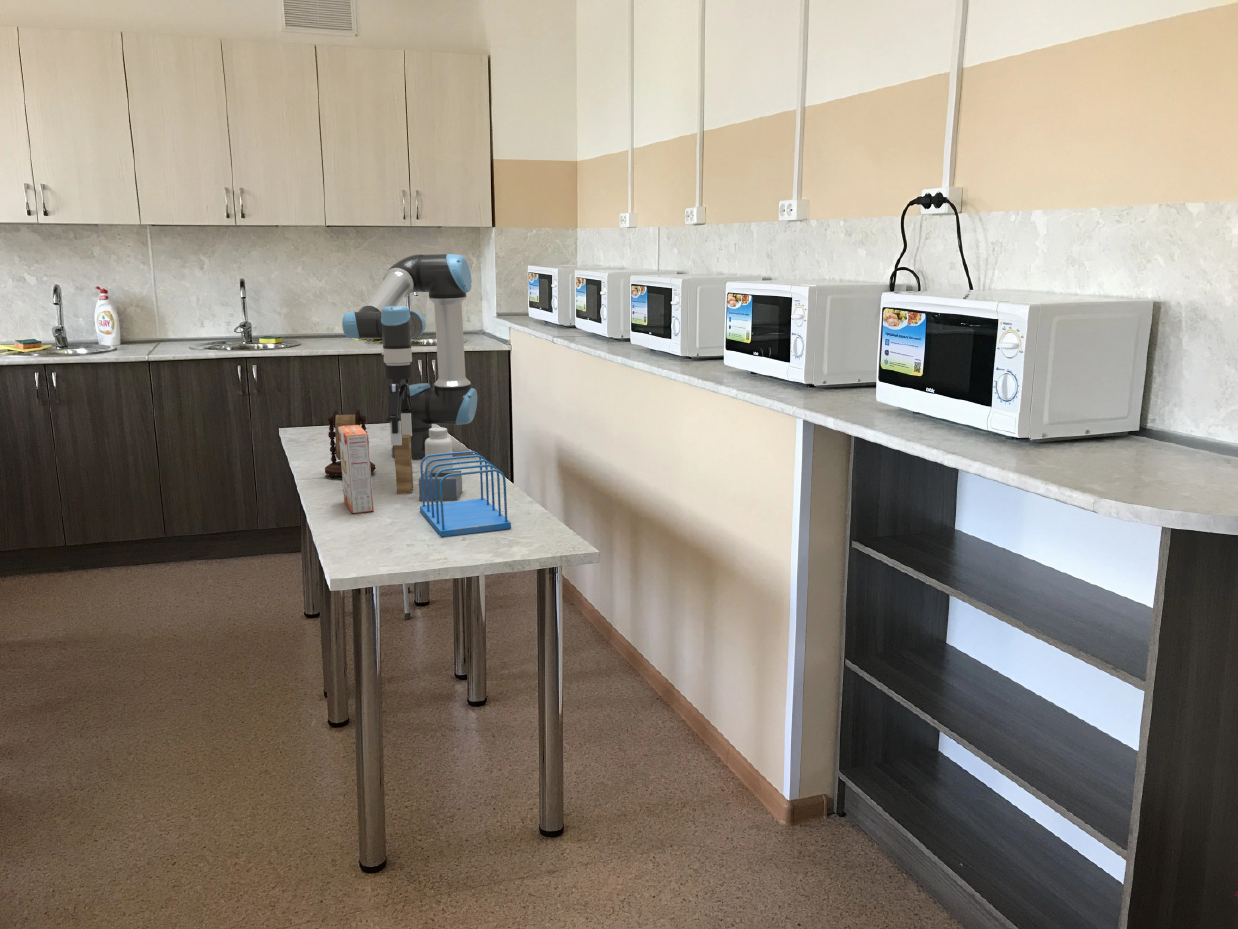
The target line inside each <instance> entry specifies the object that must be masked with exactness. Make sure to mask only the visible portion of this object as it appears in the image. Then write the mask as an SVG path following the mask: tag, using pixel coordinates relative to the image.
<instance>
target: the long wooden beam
mask: <svg viewBox="0 0 1238 929" xmlns="http://www.w3.org/2000/svg"><path fill="white" fill-rule="evenodd" d="M401 436H402V445H394V451H395V458H394V464H395V465H394V466H395V481H396V483H395V484H396V494H412V493H413V492H414V477H413V473H414V472H413V461H412V460H413V459H412V455H411V436H410V435H401ZM412 491H413V492H412Z"/></svg>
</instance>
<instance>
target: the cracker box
mask: <svg viewBox="0 0 1238 929" xmlns="http://www.w3.org/2000/svg"><path fill="white" fill-rule="evenodd" d="M338 431H339V443H340V454H341V460H340V461H341V467H342V476H341V477H342V478H341V479H342V488H343V489H342V490H343V500H344V503H345V504H346V505H347V508H348V510H349V511H350V512H351V514H352V513H357V514H363V513H362V512H364V513H370V512H371V511H372V512H374V498H373V497H374V496H373V488H372V486H373V484H372V483H373V482H372V472H371V469H370V462H371V459H370V457H371V456H370V442H369V441H370V440H369V434H368V432H367V433H366V432H365V431H366V430H365V431H364V430H363V429H362V428H361V424H360V425H351V426H340V427H338Z"/></svg>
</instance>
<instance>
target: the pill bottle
mask: <svg viewBox="0 0 1238 929" xmlns="http://www.w3.org/2000/svg"><path fill="white" fill-rule="evenodd" d="M429 436H430V438H428V439H426V441H425V457H426V456H428V455H433V454H442V453H452V452H453V441H452V438H450V437H448V428H446V427H443V426H442V427H440V426H438V427H432V428H430V429H429ZM449 457H454V455H445V456H435V457H429V458H427V459H425V461H424V462H425V466H426V465H427V463H428V462H429V461H431V460H433V459H440V458H449ZM451 462H454V459H453V460H444V461H435V462H432V463H431V464H430V465H429V466H428V469H427V471H431V469H432V468H433V467H434V466H435V465H437V464H442V463H451ZM446 468H454V465H446V466H439V467H437V468H435V469H434V470H433V471H440V470H442V469H446ZM450 471H454V470H450Z"/></svg>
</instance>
